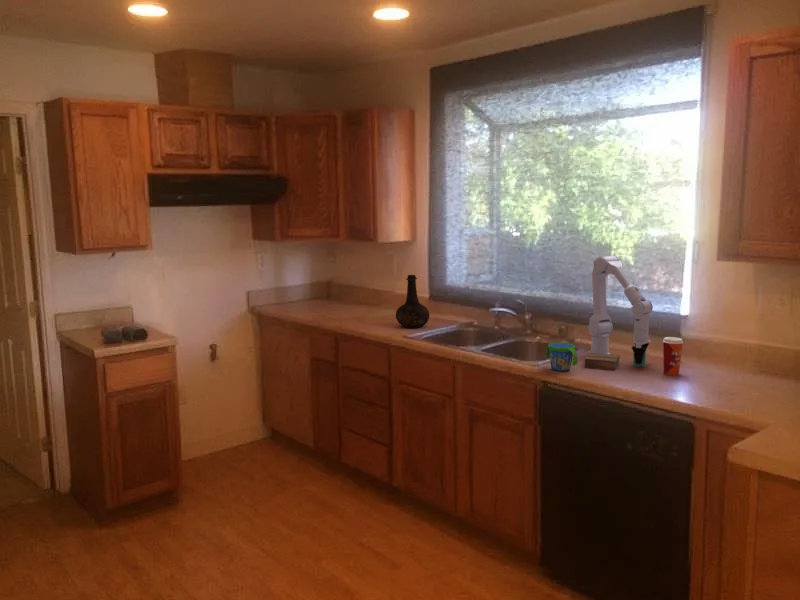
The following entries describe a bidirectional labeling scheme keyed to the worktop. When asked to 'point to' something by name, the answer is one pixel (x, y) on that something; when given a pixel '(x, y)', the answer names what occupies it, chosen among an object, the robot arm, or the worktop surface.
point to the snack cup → (561, 356)
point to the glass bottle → (412, 308)
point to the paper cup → (672, 355)
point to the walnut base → (602, 361)
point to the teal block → (642, 361)
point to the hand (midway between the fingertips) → (639, 361)
